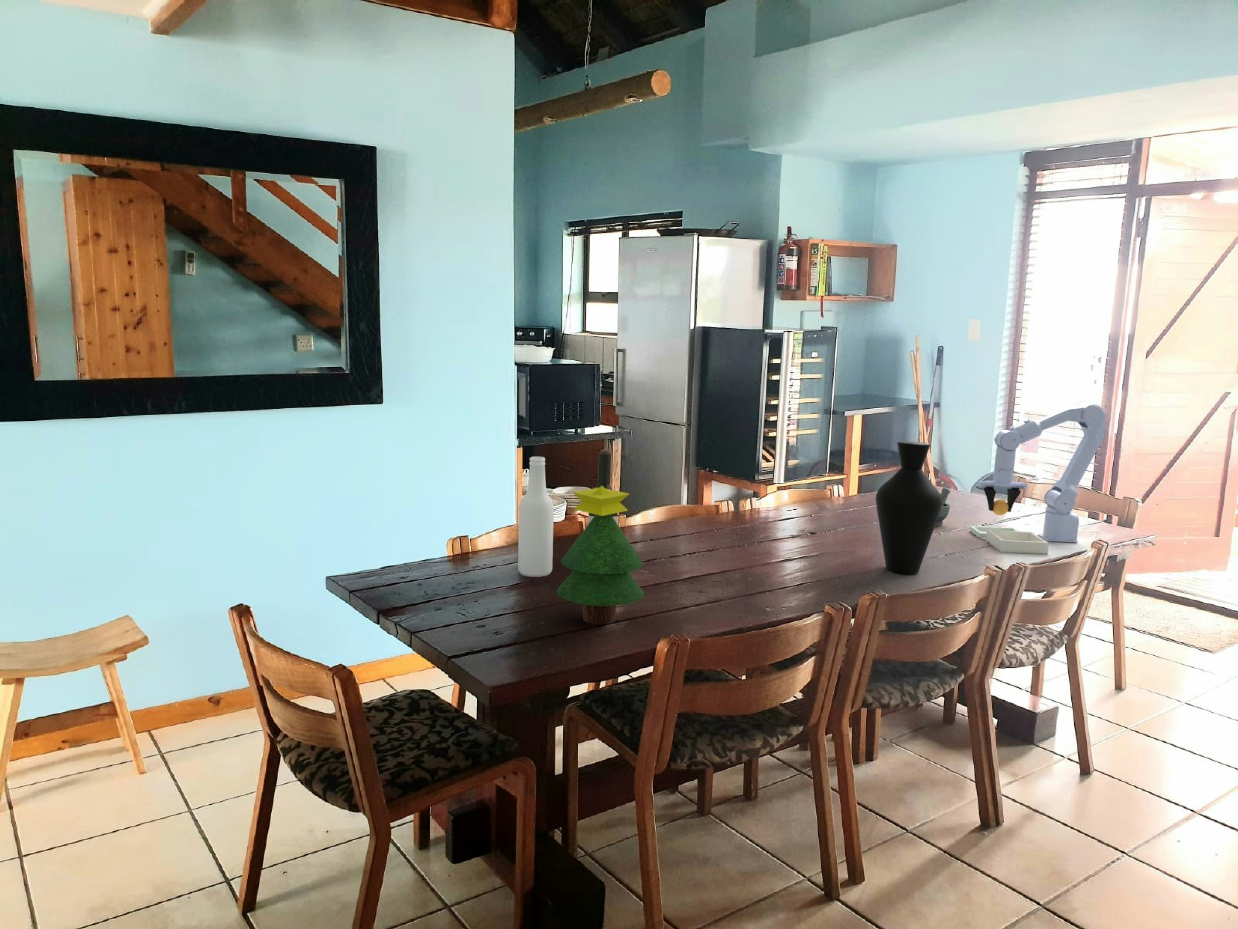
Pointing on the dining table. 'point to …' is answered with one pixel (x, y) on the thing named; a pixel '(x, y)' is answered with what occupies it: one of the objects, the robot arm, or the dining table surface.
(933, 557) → the dining table surface
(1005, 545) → the cream open box
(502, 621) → the dining table surface
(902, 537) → the vase
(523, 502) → the alcohol
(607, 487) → the wine bottle
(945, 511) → the mortar and pestle
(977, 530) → the tray
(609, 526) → the decorative tree
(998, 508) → the ball
